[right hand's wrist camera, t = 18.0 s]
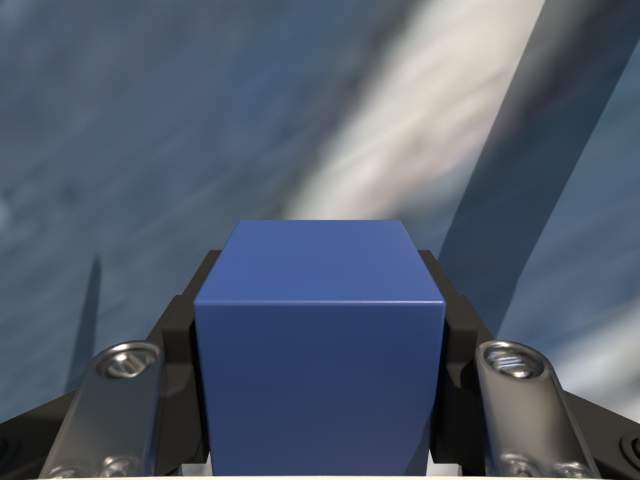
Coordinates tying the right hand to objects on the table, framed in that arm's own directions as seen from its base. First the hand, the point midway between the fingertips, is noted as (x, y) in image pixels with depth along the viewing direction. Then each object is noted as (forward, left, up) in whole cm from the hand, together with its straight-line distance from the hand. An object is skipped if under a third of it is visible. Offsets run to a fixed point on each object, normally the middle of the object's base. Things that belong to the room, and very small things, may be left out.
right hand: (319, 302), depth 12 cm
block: (0, 0, 0) cm, 0 cm away
